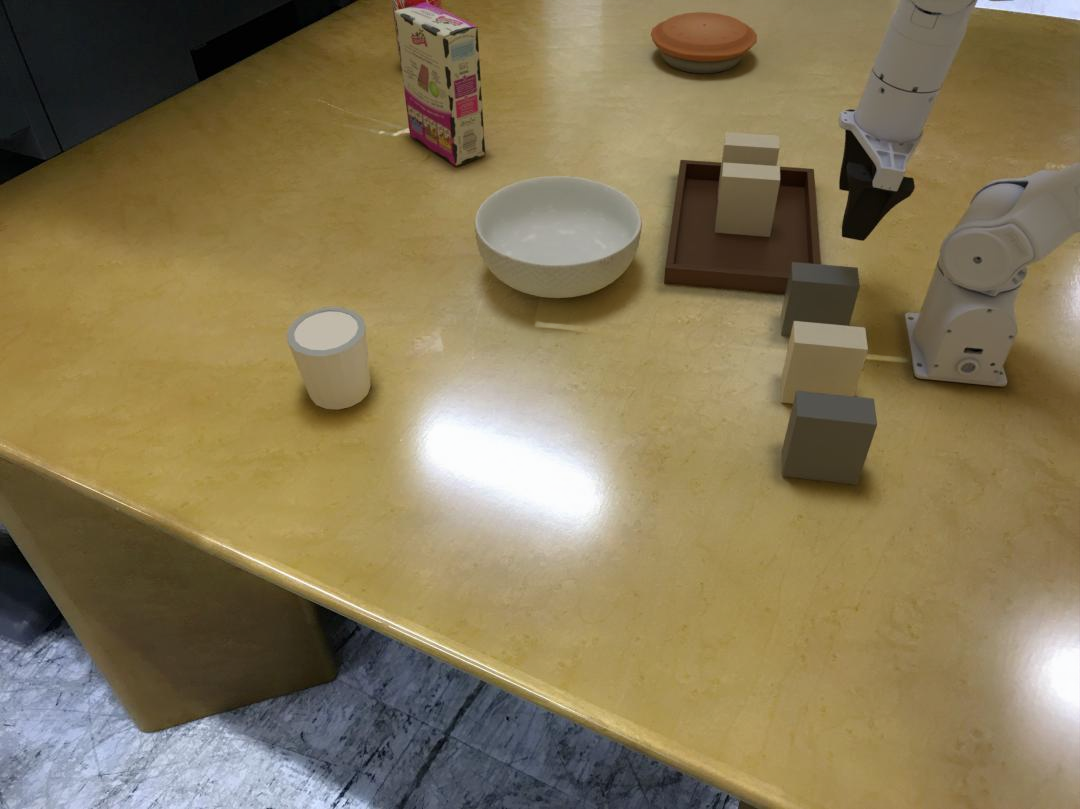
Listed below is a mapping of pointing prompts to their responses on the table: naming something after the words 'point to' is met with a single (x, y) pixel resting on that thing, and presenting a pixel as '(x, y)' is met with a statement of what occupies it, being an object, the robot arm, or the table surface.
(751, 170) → the white book
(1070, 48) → the table surface
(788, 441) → the grey book
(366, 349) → the white cup
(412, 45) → the candy bar box
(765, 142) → the white book
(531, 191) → the cereal bowl
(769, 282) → the book tray
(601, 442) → the table surface
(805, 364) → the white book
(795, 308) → the gray rectangular block
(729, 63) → the pie
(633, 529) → the table surface
